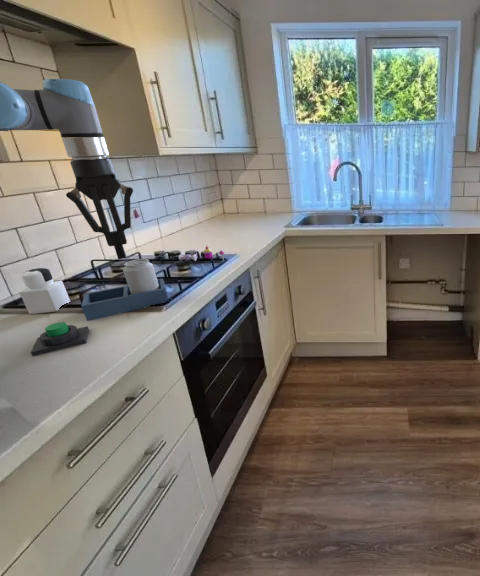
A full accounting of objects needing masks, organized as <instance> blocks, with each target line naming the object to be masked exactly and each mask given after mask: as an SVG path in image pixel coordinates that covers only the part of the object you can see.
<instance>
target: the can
mask: <svg viewBox="0 0 480 576" xmlns="http://www.w3.org/2000/svg"><path fill="white" fill-rule="evenodd" d="M123 266H124V267H123V269H122V272H123V274H124V277H125V280H126V283H127V285H128V287H129V290H130V293H131V295H133V294H138V293H142V292H147V291H152V290H157V289H160V288H159V284H158V281H157V280H158V277H157V275H156V270H155V267H154V264H153V263H151V262H150V259H148V258H137V259H132V260H129V261H126V262H124V264H123Z"/></svg>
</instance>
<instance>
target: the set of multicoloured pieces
mask: <svg viewBox="0 0 480 576" xmlns="http://www.w3.org/2000/svg"><path fill="white" fill-rule="evenodd" d="M218 252H219V254H220V255H221V258H222V262H224V261H225V259H224V255H225V251H224V250H219V251H218ZM203 253H204V257H205V259H207V260H208V259H209V260H210V259H212V258H213V257H214V256H213V251H212V249H211V248H209V246H205V249H204V251H203ZM197 257H198V256H197V255H196V253H193V254H192V255H191V254H184V255H182V254H179V255H178V260H179V262H183V261H185V262H191V261H197Z"/></svg>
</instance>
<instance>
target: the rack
mask: <svg viewBox="0 0 480 576" xmlns="http://www.w3.org/2000/svg"><path fill="white" fill-rule="evenodd" d="M157 281H158V284H159V288H160V289H157V290H152V291H147V292H142V293H138V294H133V295H131V293H130V290H129V287H128V284H127V285H122V286H117V287H111V288H105V289H100V290H96V291H91V292H85V293H84V295H83V299H82V301H81V309H82V312H83V314H84V317H85V320H86V322H88V321H93V320H98V319H102V318H107V317H111V316H112V317H113V316H115V315H119V314H125V313H129V312H134V311H139V310H142V309H141V308H143V309H145V308H144V307H147V306H150V305H155V304H158V303H162V302H166V301H169V302H170V300H168V299H169V296H168V291H167V289H166V284H165V281H164V278H157ZM121 296H122V297H121ZM147 308H148V307H147Z"/></svg>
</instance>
